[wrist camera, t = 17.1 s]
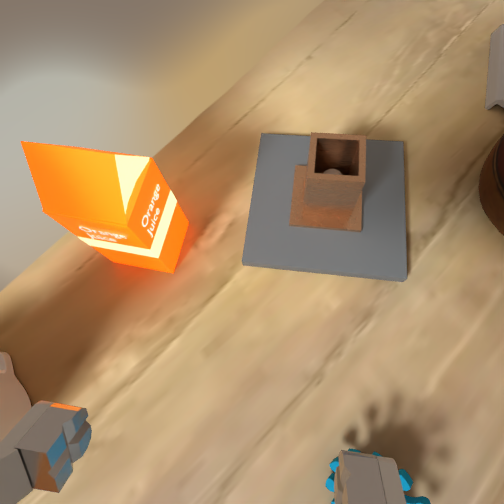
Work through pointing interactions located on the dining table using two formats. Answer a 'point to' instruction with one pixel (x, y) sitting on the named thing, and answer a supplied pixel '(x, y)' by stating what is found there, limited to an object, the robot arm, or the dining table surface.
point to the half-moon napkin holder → (496, 70)
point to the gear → (406, 481)
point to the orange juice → (110, 203)
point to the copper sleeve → (330, 184)
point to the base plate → (322, 240)
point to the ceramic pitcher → (493, 186)
